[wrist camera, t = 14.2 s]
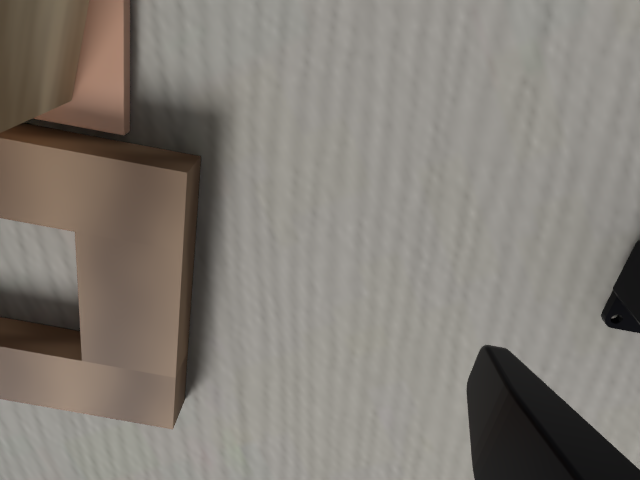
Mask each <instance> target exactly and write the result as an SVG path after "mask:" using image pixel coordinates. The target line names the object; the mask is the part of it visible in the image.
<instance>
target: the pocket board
mask: <svg viewBox="0 0 640 480" xmlns="http://www.w3.org/2000/svg"><path fill="white" fill-rule="evenodd" d="M200 166H201V156H197V155H191V154H186V153H181V152H175V151H170V150H165V149H159V148H154V147H148V146H143V145H138V144H132V143H127V142H122V141H116V140H111V139H106V138H100V137H95V136H90V135H84V134H79V133H74V132H68V131H63V130H58V129H52V128H47V127H42V126H36V125H31V124H26V123H21V124H19V125H17V126H15V127H12V128H10V129H8V130H6V131H4V132H1V133H0V218H3V219H9V220H14V221H20V222H25V223H30V224H36V225H41V226H47V227H52V228H58V229H63V230H69V231H74V232H75V243H76V262H77V280H78V298H79V317H80V331H76V330H70V329H65V328H59V327H53V326H48V325H42V324H37V323H31V322H26V321H20V320H14V319H9V318H3V317H0V399H4V400H9V401H15V402H21V403H26V404H32V405H38V406H43V407H49V408H55V409H60V410H66V411H72V412H77V413H83V414H89V415H94V416H100V417H106V418H111V419H117V420H123V421H128V422H134V423H140V424H146V425H151V426H157V427H163V428H168V429H173V427H174V425H175V423H176V420H177V418H178V415H179V413H180V410H181V408H182V405H183V403H184V400H185V386H186V371H187V356H188V342H189V327H190V312H191V298H192V283H193V268H194V254H195V239H196V224H197V210H198V195H199V181H200Z"/></svg>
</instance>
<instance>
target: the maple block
mask: <svg viewBox="0 0 640 480" xmlns="http://www.w3.org/2000/svg"><path fill="white" fill-rule="evenodd" d="M88 5H89V0H0V133H1V132H4V131H6V130H8V129H10V128H12V127H15V126H17V125H19V124H21V123H24V122H26V121H28V120H30V119H32V118H35V117H37V116H39V115H41V114H44V113H46V112H48V111H50V110H52V109H55V108H57V107H59V106H61V105H64V104H66V103H68V102H70V101H72V96H73V90H74V84H75V79H76V73H77V67H78V62H79V56H80V50H81V45H82V39H83V33H84V28H85V22H86V16H87V11H88Z"/></svg>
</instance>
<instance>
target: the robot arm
mask: <svg viewBox="0 0 640 480" xmlns="http://www.w3.org/2000/svg"><path fill="white" fill-rule="evenodd" d="M617 314H618V316H617V317H615V318H612V316H614V315H617ZM601 317H602V319H603V321H604V322H605V324H606V325H607V326H608V327H611V328H615V329H621V330H626V331H631V332H637V333H640V240H639V241H638V242H637V243H636V245H635V247H634V249H633V250H632V252H631V254H630V256H629V258H628V260H627V262H626V264H625V266H624V268H623V270H622V272H621V274H620V275H619V277H618V279H617V281H616V283H615V285H614V287H613V292H612V294H611V296H610V298H609V300H608V302H607V304H606V306H605V307H604V309H603V311H602V314H601ZM467 403H468V416H469V429H470V441H471V454H472V465H473V472H474V478H475V480H640V470H639V469H638V468H637V467H636V466H635V465H634V464H633V463H631V462H630V461H629V460H628V459H627V458H626V457H625V456H624V455H623V454H622V453H620V452H619V451H618V450H617V449H616V448H615V447H614V446H613V445H612V444H611V443H610V442H608V441H607V440H606V439H605V438H604V437H603V436H602V435H601V434H600V433H599V432H598V431H596V430H595V429H594V428H593V427H592V426H591V425H590V424H589V423H588V422H587V421H586V420H584V419H583V418H582V417H581V416H580V415H579V414H578V413H577V412H576V411H575V410H573V409H572V408H571V407H570V406H569V405H568V404H567V403H566V402H565V401H564V400H563V399H561V398H560V397H559V396H558V395H557V394H556V393H555V392H554V391H553V390H552V389H551V388H549V387H548V386H547V385H546V384H545V383H544V382H543V381H542V380H541V379H540V378H538V377H537V376H536V375H535V374H534V373H533V372H532V371H531V370H530V369H529V368H528V367H526V366H525V365H524V364H523V363H522V362H521V361H520V360H519V359H518V358H517V357H516V356H514V355H513V354H512V353H511V352H510V351H509V350H508V349H506V348H502V347H496V346H491V345H485V346H483V347H482V348H481V349H480V351H479V353H478V356H477V358H476V361H475V363H474V366H473V368H472V371H471V373H470V376H469V378H468V382H467Z"/></svg>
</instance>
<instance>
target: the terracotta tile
mask: <svg viewBox="0 0 640 480" xmlns="http://www.w3.org/2000/svg"><path fill="white" fill-rule="evenodd" d="M33 119H39V120H44V121H49V122H55V123H60V124H65V125H71V126H76V127H81V128H87V129H92V130H97V131H103V132H108V133H113V134H119V135H126V134H127V133H128V132H130V0H89V5H88V11H87V16H86V22H85V28H84V33H83V39H82V45H81V50H80V56H79V62H78V67H77V73H76V79H75V84H74V90H73V96H72V101H70V102H68V103H66V104H64V105H61V106H59V107H57V108H55V109H52V110H50V111H48V112H46V113H44V114H41V115H39V116H37V117H35V118H33Z"/></svg>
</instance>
